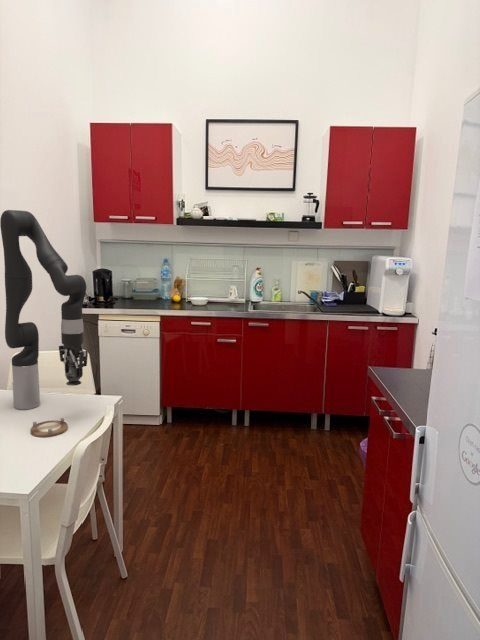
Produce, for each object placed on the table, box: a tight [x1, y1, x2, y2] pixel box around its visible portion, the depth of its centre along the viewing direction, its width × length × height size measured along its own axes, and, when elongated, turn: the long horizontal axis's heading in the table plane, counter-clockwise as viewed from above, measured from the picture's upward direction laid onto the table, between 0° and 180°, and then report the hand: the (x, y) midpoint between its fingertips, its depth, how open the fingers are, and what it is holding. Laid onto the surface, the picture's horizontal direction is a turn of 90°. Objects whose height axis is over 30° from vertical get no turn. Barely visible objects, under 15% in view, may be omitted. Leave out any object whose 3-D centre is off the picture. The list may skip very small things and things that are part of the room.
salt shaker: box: [64, 356, 82, 387], centre depth 165 cm, size 6×6×12 cm
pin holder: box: [30, 417, 69, 438], centre depth 157 cm, size 12×12×2 cm
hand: (73, 375), depth 166 cm, fingers closed on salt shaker, 6 cm apart
